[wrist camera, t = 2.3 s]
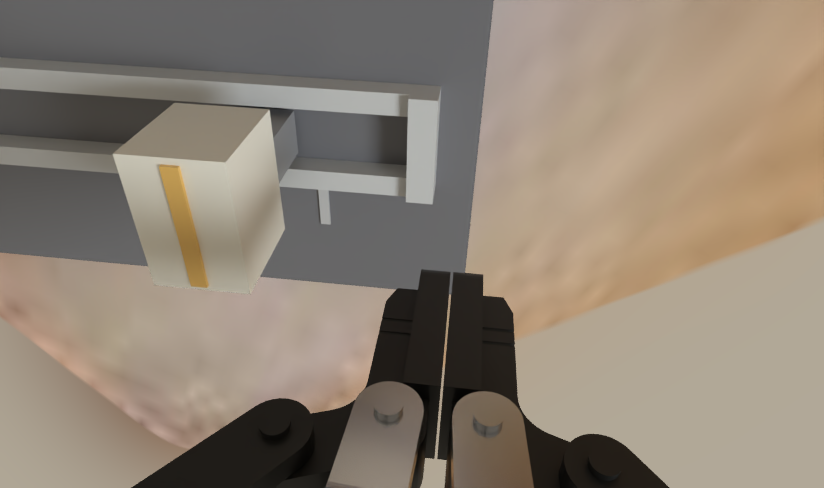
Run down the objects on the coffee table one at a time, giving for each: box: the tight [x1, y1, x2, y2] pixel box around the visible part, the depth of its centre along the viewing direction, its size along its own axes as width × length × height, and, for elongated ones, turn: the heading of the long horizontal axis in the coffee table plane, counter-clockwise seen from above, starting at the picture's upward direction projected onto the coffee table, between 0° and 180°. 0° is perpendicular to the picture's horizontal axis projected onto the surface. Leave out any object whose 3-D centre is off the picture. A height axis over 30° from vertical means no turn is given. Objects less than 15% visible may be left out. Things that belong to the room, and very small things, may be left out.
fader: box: [113, 103, 298, 294], centre depth 18 cm, size 4×3×7 cm
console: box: [0, 0, 494, 294], centre depth 22 cm, size 15×32×3 cm, turn 89°
